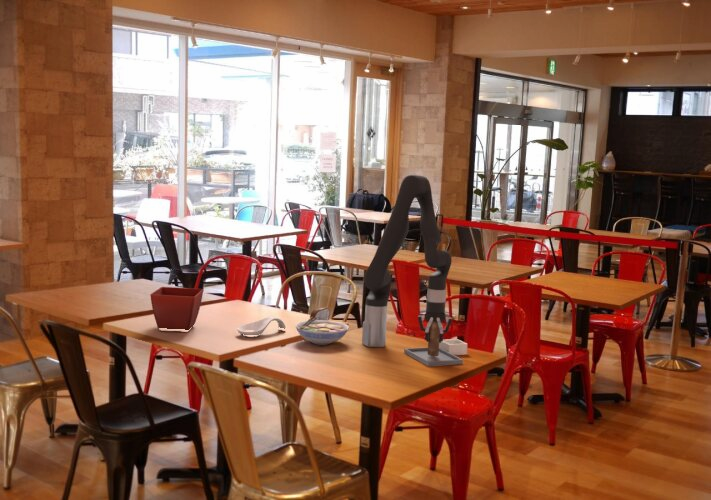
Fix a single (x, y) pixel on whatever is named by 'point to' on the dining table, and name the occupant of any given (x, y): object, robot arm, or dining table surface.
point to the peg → (433, 339)
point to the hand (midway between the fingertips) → (433, 341)
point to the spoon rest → (259, 326)
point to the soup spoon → (320, 314)
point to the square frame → (454, 346)
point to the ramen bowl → (321, 331)
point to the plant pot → (176, 307)
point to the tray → (433, 357)
